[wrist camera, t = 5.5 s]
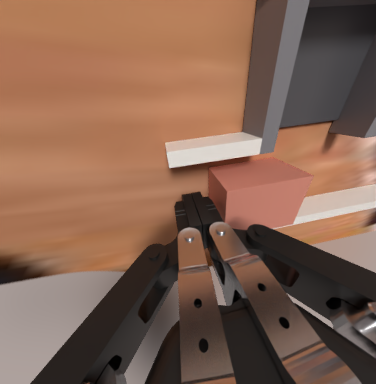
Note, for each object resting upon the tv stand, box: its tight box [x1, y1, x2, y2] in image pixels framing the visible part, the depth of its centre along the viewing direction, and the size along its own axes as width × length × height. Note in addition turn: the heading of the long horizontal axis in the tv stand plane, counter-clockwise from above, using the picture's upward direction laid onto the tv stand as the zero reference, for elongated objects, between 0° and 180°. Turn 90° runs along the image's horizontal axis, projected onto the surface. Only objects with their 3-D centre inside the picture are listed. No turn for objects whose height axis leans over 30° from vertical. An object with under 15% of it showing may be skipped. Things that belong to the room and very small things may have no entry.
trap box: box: [165, 0, 376, 229], centre depth 11 cm, size 30×16×4 cm, turn 95°
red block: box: [209, 157, 314, 230], centre depth 12 cm, size 6×4×4 cm
